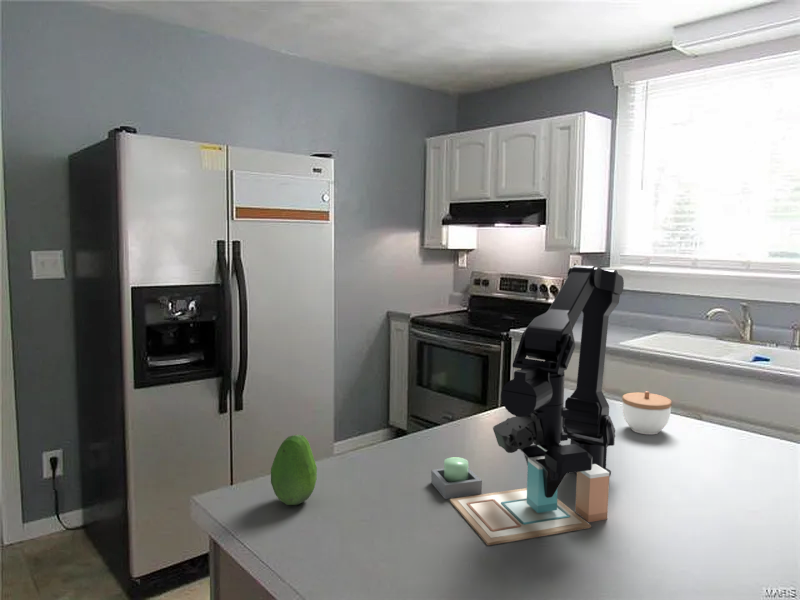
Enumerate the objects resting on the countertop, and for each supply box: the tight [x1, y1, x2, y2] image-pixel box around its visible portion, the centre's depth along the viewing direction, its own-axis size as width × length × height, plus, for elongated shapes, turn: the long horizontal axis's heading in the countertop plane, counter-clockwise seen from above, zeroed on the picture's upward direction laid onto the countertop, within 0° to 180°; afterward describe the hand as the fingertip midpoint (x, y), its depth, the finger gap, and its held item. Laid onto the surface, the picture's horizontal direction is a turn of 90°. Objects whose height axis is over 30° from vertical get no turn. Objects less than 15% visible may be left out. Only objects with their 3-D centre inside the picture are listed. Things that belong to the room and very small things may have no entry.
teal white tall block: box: [526, 456, 559, 513], centre depth 97 cm, size 4×4×8 cm
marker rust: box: [574, 464, 610, 523], centre depth 96 cm, size 4×4×8 cm
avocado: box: [270, 434, 318, 506], centre depth 100 cm, size 8×8×12 cm
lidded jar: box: [621, 390, 673, 436], centre depth 137 cm, size 11×11×9 cm
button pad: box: [430, 467, 483, 500], centre depth 106 cm, size 7×7×2 cm
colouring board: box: [449, 487, 592, 546], centre depth 97 cm, size 18×15×1 cm
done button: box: [443, 456, 469, 483], centre depth 106 cm, size 4×4×3 cm
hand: (542, 491), depth 97 cm, fingers closed on teal white tall block, 4 cm apart
